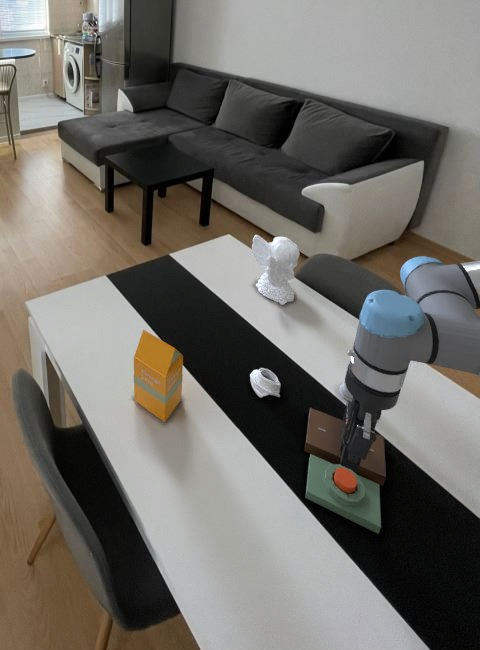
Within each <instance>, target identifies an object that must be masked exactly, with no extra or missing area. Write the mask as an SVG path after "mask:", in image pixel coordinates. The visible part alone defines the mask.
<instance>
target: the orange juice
mask: <svg viewBox="0 0 480 650" xmlns="http://www.w3.org/2000/svg"><path fill="white" fill-rule="evenodd" d="M183 367H184V355H183V354H182V353H181V352H180V351H179V350H178V349H176V348H175V347H174V346H172V345H171V344H169V343H167V342H166V341H163V340H162V339H160V338H158V337H157V336H155V335H153V334H152V333H150V332H148V331H146V330H145V329H142V332H141V336H140V338H139V341H138V343H137V347H136V350H135V353H134V356H133V394H134V395H133V396H134V397H135V398H134V397H133V399H134V401H135V402H136V403H137V404H139V405H140V406H142V407H143V408H144V409H146V410H147V411H148V412H150V413H151V414H152V415H154V416H156V418H158V419H160V420H161V421H162V422H164V423H166V421H167V420H168V419H169V417H170V416H171V415H172V413H173V411H174V410H175V409H176V408H177V406H178V405H179V404H180V402H181V401H182V390H183V389H182V388H183V375H184V374H183V371H184V370H183V369H184V368H183Z"/></svg>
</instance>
